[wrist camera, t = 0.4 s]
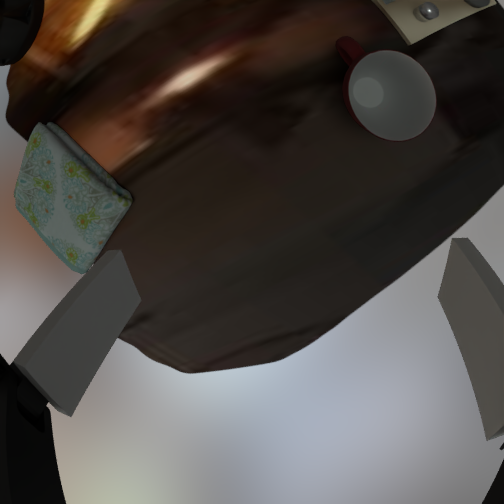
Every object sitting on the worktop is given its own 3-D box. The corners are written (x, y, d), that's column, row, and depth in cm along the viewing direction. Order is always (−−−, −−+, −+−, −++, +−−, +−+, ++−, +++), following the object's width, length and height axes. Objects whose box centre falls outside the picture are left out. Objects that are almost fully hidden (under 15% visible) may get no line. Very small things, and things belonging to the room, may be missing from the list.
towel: (51, 113, 33) (28, 121, 29) (139, 196, 39) (121, 212, 35) (23, 192, 42) (6, 204, 38) (95, 264, 48) (80, 281, 44)
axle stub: (409, 10, 19) (419, 5, 17) (421, 5, 18) (431, -1, 16) (420, 24, 20) (430, 20, 18) (431, 19, 19) (442, 14, 17)
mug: (302, 70, 27) (303, 63, 19) (353, 30, 23) (374, 9, 15) (364, 139, 30) (388, 160, 22) (413, 101, 26) (452, 109, 18)
